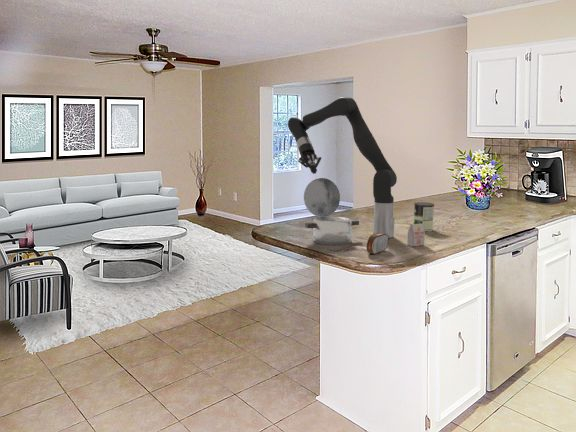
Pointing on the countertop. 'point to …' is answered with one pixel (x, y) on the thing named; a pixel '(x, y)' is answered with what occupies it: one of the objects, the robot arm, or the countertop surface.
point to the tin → (377, 243)
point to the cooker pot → (332, 230)
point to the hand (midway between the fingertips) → (314, 172)
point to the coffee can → (424, 215)
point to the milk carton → (416, 235)
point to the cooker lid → (321, 197)
